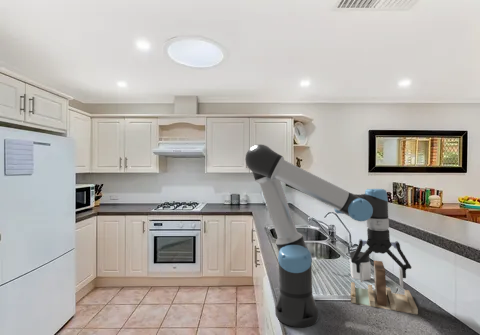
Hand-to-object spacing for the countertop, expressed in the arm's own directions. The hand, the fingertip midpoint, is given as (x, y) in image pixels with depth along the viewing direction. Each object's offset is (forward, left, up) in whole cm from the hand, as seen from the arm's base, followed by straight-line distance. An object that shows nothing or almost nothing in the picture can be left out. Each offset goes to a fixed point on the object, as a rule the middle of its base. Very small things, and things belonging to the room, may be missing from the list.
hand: (380, 283), depth 96 cm
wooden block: (0, 0, -6) cm, 6 cm away
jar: (-7, +20, -8) cm, 22 cm away
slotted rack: (0, 0, -7) cm, 7 cm away
